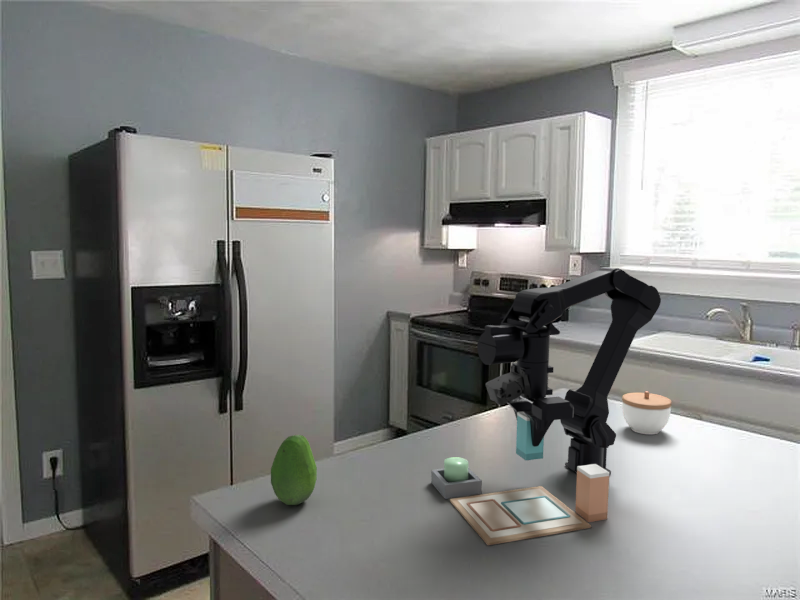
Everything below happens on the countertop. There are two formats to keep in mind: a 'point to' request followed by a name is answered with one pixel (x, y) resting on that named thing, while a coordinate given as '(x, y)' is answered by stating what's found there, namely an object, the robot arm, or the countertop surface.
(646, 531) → the countertop surface
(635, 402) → the lidded jar
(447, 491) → the button pad
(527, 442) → the teal white tall block
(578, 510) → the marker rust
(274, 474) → the avocado
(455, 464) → the button
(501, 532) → the colouring board
